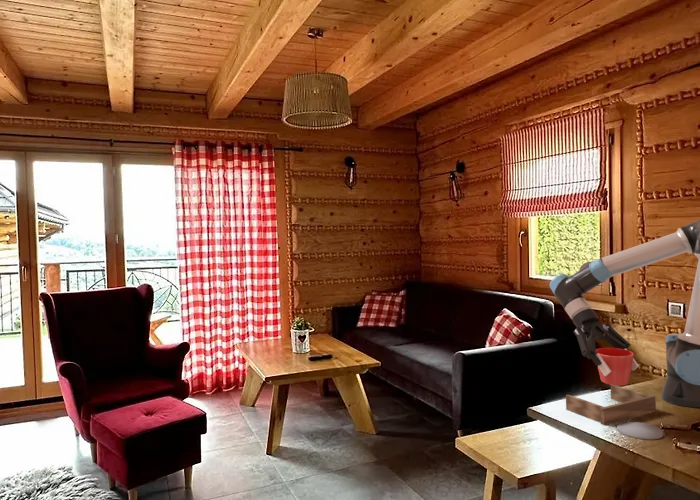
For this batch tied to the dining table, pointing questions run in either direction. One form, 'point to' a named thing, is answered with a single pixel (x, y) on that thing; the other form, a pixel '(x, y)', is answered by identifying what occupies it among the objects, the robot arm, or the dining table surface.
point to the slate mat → (640, 430)
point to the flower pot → (616, 365)
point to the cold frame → (614, 406)
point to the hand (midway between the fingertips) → (622, 371)
